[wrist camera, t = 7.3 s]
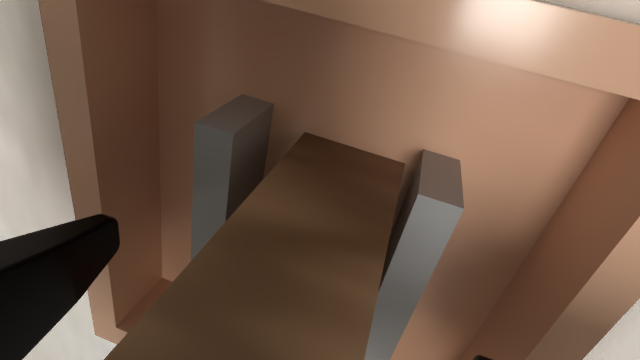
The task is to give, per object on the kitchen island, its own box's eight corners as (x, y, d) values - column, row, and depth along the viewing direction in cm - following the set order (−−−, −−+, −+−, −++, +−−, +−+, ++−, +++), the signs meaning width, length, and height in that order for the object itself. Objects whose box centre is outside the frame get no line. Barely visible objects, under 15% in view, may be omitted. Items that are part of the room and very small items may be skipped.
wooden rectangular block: (404, 163, 11) (337, 489, 4) (359, 286, 13) (271, 611, 7) (305, 131, 11) (87, 378, 4) (279, 257, 14) (119, 533, 7)
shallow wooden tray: (703, 39, 8) (846, 75, 5) (457, 392, 16) (460, 490, 13) (140, -94, 10) (17, -122, 7) (154, 273, 17) (95, 335, 15)
